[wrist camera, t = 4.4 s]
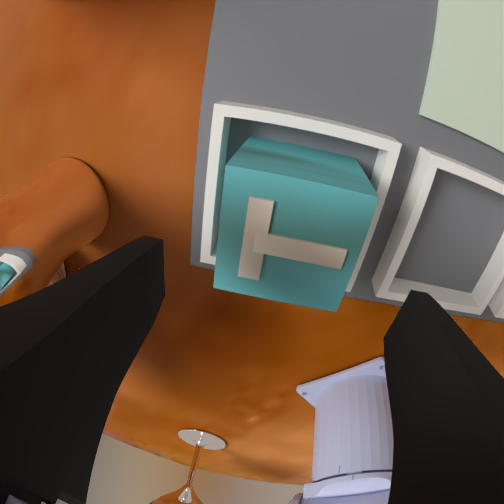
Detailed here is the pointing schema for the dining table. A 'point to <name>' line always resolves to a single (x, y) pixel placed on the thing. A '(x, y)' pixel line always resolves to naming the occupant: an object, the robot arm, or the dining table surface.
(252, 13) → the organizer board
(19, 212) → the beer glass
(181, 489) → the wineglass
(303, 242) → the teal letter cube
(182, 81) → the dining table surface
